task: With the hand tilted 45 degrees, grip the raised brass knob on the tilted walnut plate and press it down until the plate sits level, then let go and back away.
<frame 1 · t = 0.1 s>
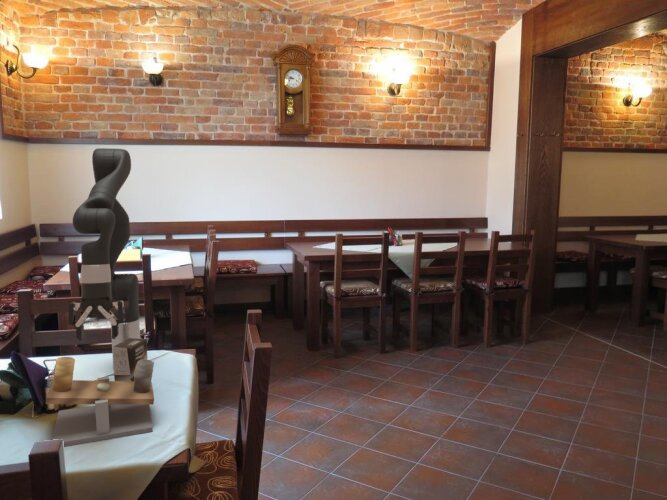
hand: (97, 339, 144), 22 cm above the table, tool pointing down, fingers open, 8 cm apart
grey stand: (104, 422, 144), on the table
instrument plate: (104, 378, 142), point 13 cm above the table, hinge at 10.0°
coffee box: (132, 392, 163), on the table
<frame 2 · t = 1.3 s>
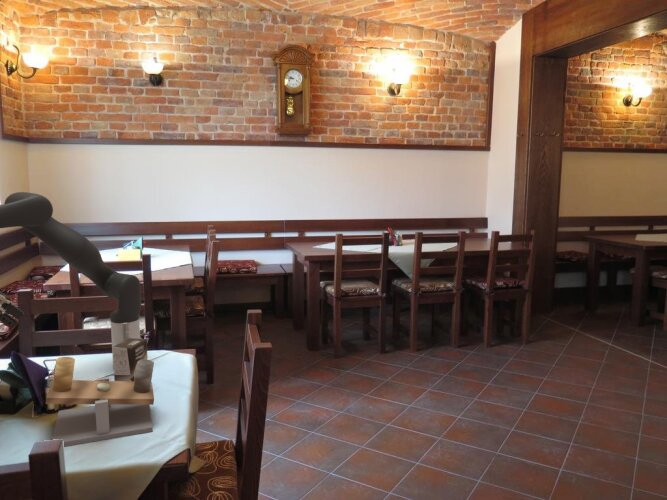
hand: (18, 320, 133), 31 cm above the table, tool tilted 45°, fingers open, 8 cm apart
nothing on the table moved.
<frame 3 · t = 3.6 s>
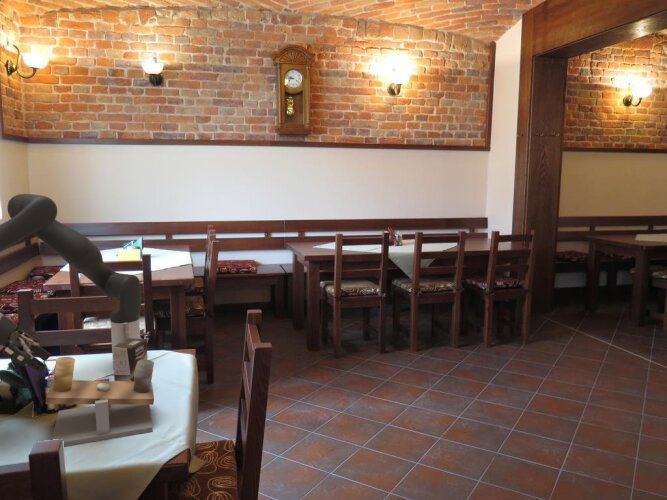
hand: (46, 363, 136), 19 cm above the table, tool tilted 45°, fingers open, 8 cm apart
nothing on the table moved.
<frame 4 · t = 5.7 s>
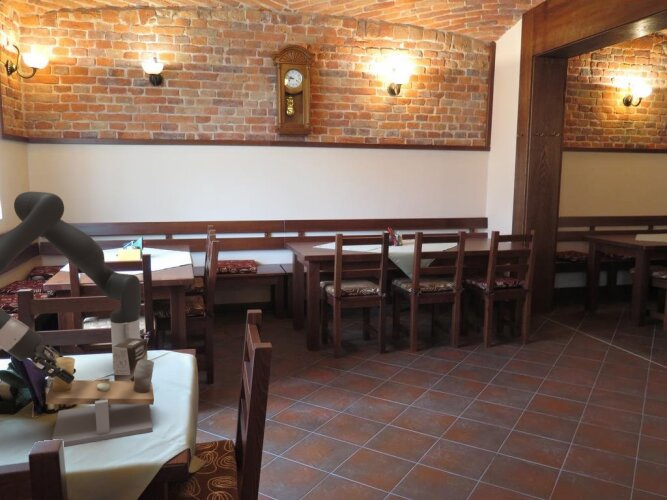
hand: (72, 376, 139), 14 cm above the table, tool tilted 45°, fingers closed on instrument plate, 4 cm apart
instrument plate: (104, 378, 142), point 13 cm above the table, hinge at 10.0°, touching gripper
everything else where it was.
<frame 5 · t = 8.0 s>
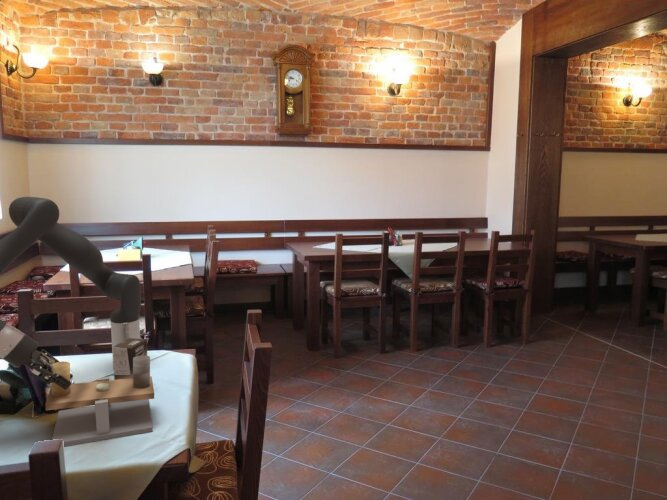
hand: (69, 382, 139), 13 cm above the table, tool tilted 45°, fingers closed on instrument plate, 4 cm apart
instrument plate: (102, 378, 142), point 13 cm above the table, hinge at 2.4°, touching gripper
everything else where it was.
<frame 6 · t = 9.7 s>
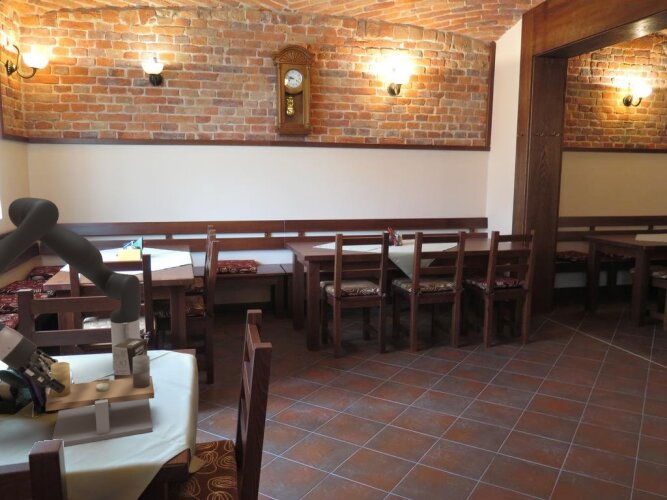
hand: (64, 383, 138), 13 cm above the table, tool tilted 45°, fingers open, 8 cm apart
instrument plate: (102, 378, 142), point 13 cm above the table, hinge at 1.7°
everything else where it was.
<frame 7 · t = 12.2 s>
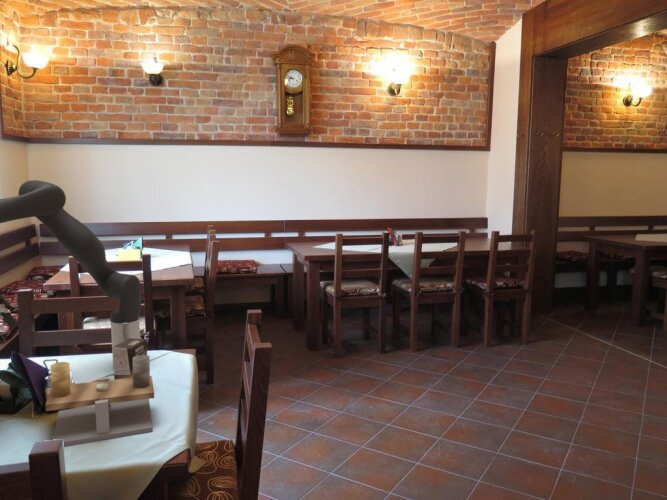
hand: (9, 334, 136), 26 cm above the table, tool tilted 30°, fingers open, 8 cm apart
nothing on the table moved.
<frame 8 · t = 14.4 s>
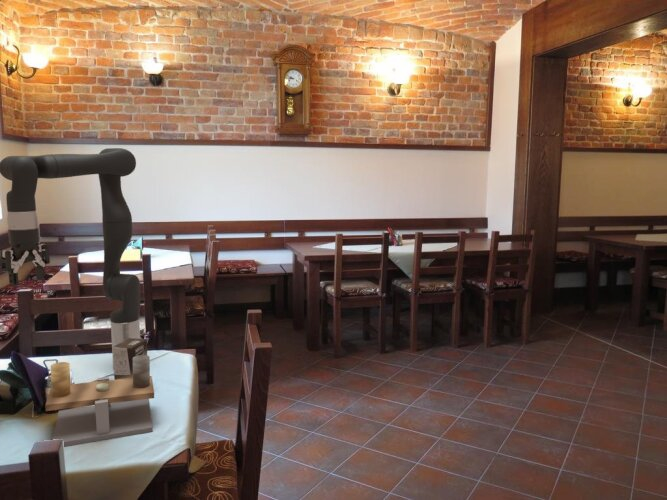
hand: (27, 282, 151), 36 cm above the table, tool pointing down, fingers open, 8 cm apart
nothing on the table moved.
at the end: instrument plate at +2° (first picture: +10°); the gripper is holding nothing; coffee box moved 0.2 cm from its start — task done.
